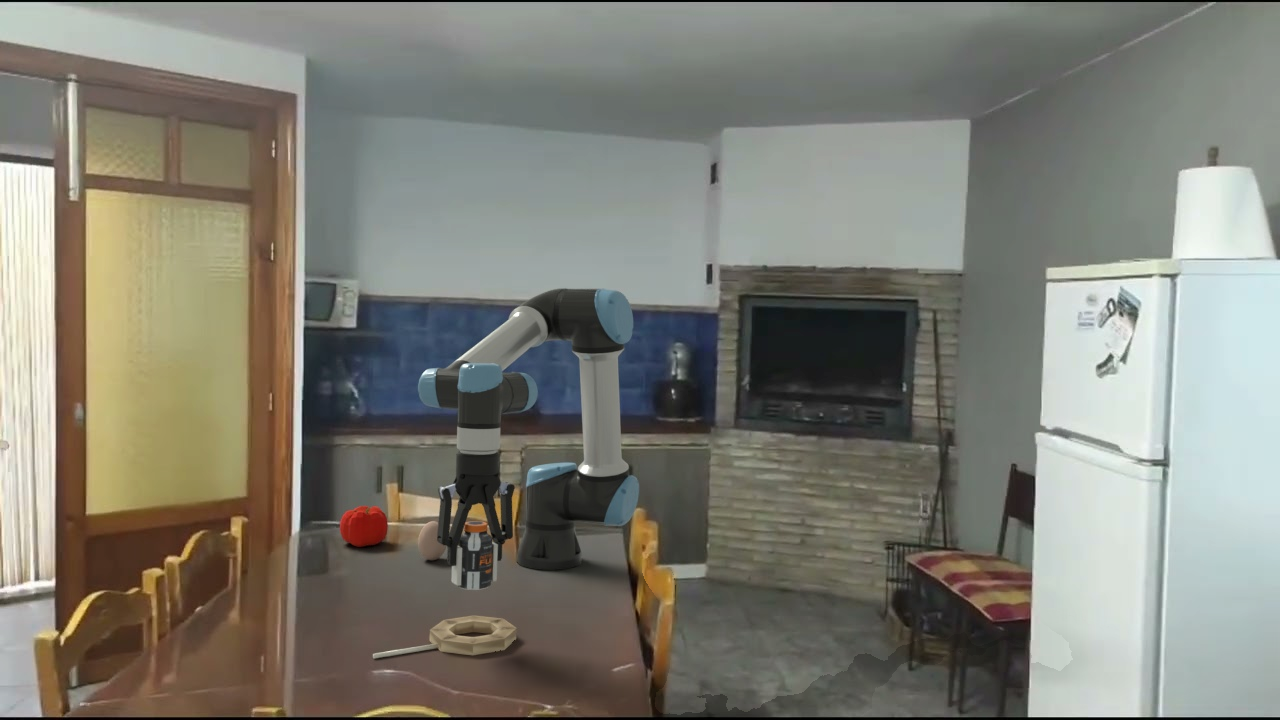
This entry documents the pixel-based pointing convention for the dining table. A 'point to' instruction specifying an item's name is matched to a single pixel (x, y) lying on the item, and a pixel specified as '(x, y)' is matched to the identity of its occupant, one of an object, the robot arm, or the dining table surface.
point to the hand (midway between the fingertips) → (474, 581)
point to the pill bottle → (476, 556)
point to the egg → (430, 542)
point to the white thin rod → (405, 651)
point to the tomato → (364, 526)
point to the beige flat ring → (452, 643)
